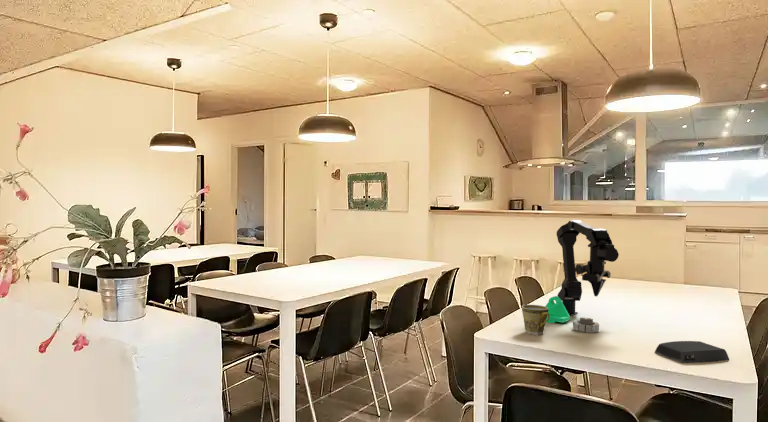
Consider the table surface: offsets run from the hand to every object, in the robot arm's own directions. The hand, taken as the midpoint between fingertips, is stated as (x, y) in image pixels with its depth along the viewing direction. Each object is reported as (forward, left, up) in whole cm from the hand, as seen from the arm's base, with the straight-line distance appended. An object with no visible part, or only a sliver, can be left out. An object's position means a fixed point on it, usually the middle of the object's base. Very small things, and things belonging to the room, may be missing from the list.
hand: (595, 296), depth 217 cm
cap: (+12, 0, -12) cm, 17 cm away
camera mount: (+6, -16, -12) cm, 21 cm away
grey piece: (+12, 0, -12) cm, 17 cm away
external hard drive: (+23, +38, -13) cm, 47 cm away
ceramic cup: (+32, -12, -12) cm, 36 cm away
